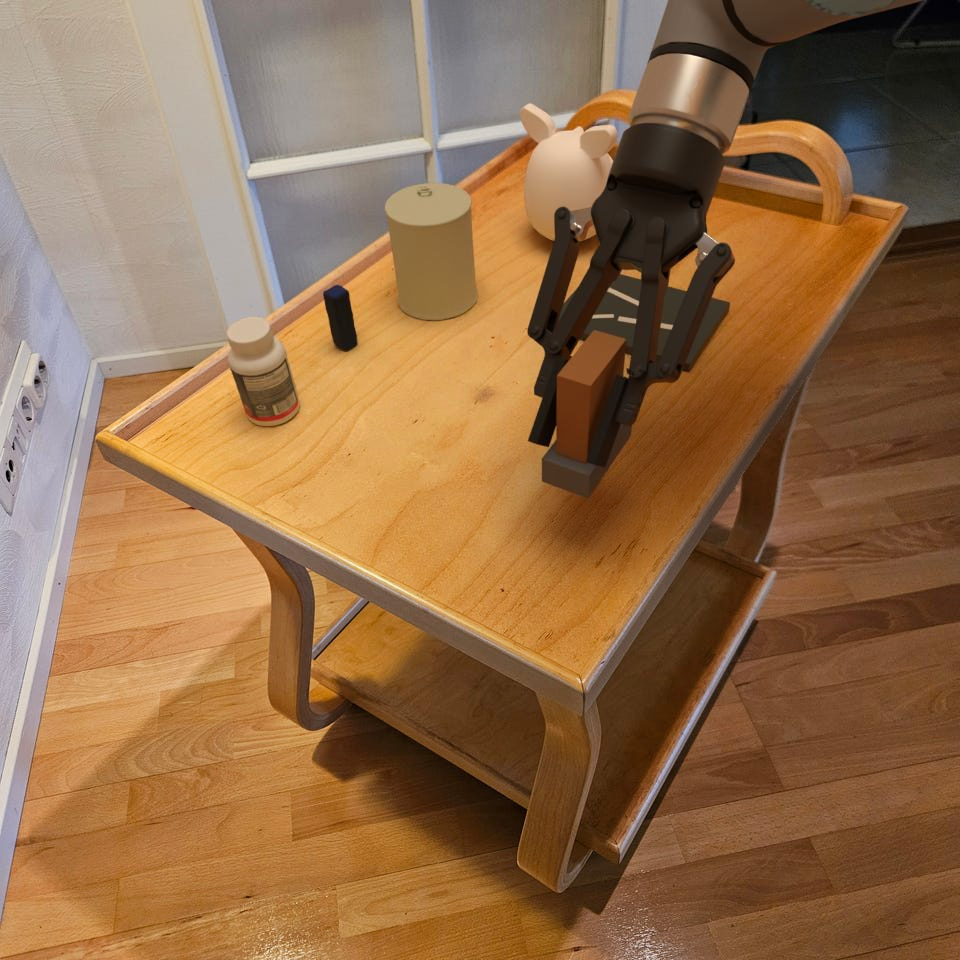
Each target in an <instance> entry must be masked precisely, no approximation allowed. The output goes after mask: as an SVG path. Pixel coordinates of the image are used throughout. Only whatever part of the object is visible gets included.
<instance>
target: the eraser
mask: <svg viewBox="0 0 960 960" xmlns="http://www.w3.org/2000/svg"><path fill="white" fill-rule="evenodd" d="M322 295H323V301H324V307H325V311H326V314H327V318H328V324H329V329H330V334H331V338H332V341H333V344H334V346H335V347H336V348H337V349H339V350H341V351H343V352H349V351H351V350H352V349H353V348H355V347H357V346H358V334H357V330H356V327H355V319H354V313H353V310H352V302H351V295H350V291H349V290H348V289H347V288H345V287H343V285H340V284H335V285H332V286H331V287H330V288H327V289H326V290H324V291H323V292H322Z"/></svg>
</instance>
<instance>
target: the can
mask: <svg viewBox="0 0 960 960" xmlns="http://www.w3.org/2000/svg"><path fill="white" fill-rule="evenodd" d="M472 203H473V202H472V198H471V196H470V193H468V192H467V191H466V190H464V189H463V188H462V187H459V186H457V185H452V184H448V183H443V182H441V183H440V182H426V183H419V184H414V185H410V186H407V187H404V188H402V189H399V190H398V191H396V192H395V193H393V194H391V195H390V196H389V197H388V198H387V200H386V202H385V203H384V213H385V215H386V222H387V229H388V235H389V241H390V247H391V253H392V260H393V261H392V262H393V268H394V274H395V282H396V289H397V297H396V300H397V304H398V307H399V308H400V310H401V311H403V312H404V313H405V314H407V315H408V316H410V317H412V318H414V319H418V320H423V321H442V320H449V319H453V318H456V317H458V316H461V315H463V314H464V313H466V312H468V311H469V310H470V309H471V308H473V307H474V305H475V304H476V302H477V300H478V298H479V290H478V287H477V280H476V268H475V253H474V252H475V251H474V238H473V235H474V234H473V215H472Z"/></svg>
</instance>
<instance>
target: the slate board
mask: <svg viewBox="0 0 960 960" xmlns="http://www.w3.org/2000/svg"><path fill="white" fill-rule="evenodd" d="M641 285H642V281H641V278H638V277H633V276H630V275H625V274H622V273H620V274H619V276H618V278H617V279H616V280H615V281H614V282H612V284H611V285H610V287H609V289H608V291H607V292H606V294H605V296H604V298H603V299H602V301H601V303H600V305H599V306H598V308H597V310H596V312H595V313H594V315H593V317H592V319H591V320H590V322H589V324H588V326H587V327H586V329H585V331H584V333H583V334H582V336H581V338H580V340H581V341H583V342H585V340H586V339H587V338H588V337H589V335H590V334H591V333H592V332H593V331H594V330H596V331H600V332H603V333H607V334H610V335H614V336H617V337H621V338H624V339H626V350H625V354H628V355H631V353H632V346H633V340H634V333H635V326H636V319H637V312H638V305H639V299H640V292H641ZM576 290H577V288H576V289H574V291H573V292H572V293H571V294H570V296H569V297H567V298H566V299H565V300H564V304H563V307H562V310H561V314H560V317H559V320H560V318H561V317H562V315H563V313H564V311H565V310H566V308H567V306H568V304H569V302H570V301H571V299H572V297H573V295H574V294H575V292H576ZM686 292H687V290H684V289H680V288H676V287H673V286H669V285H668V289H667V291H666V293H665V300H664V307H663V313H662V320H661V327H660V334H659V341H658V347H657V354H656V361H655V362H659V360H660V357H661V355H662V352H663V350H664V347H665V345H666V342H667V340H668V337H669V335H670V332H671V330H672V327H673V325H674V322H675V320H676V317H677V315H678V312H679V310H680V307H681V305H682V302H683V299H684V297H685V294H686ZM730 306H731V302H730V301H727V300H723V299H719V298H715V297H712V298H711V300H710V303H709V305H708V308H707V310H706V313H705V315H704V318H703V320H702V323H701V325H700V327H699V330H698V332H697V335H696V337H695V340H694V342H693V345H692V347H691V350H690V352H689V355H688V357H687V360H686V362H685V365H684V367H683V370H682V371H686V372H690V371H691V369H692V367H693V366H694V364H695V363H696V362H697V360H698V359H699V356H700V355H701V354H702V352H703V350H704V349H705V347H707V344H709V341H710V340H711V338H712V336H713V335H714V334H715V332H716V331H717V329H718V327H719V326H720V325H721V323H722V321H723V320H724V318H725V317H726V316H727V313H728V312H729V310H730ZM559 320H558V322H559ZM557 324H558V323H557Z"/></svg>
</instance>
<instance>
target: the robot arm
mask: <svg viewBox="0 0 960 960" xmlns="http://www.w3.org/2000/svg"><path fill="white" fill-rule="evenodd" d="M922 1H924V0H667V2H666V6H665V9H664V12H663V15H662V18H661V20H660V23H659V27H658V30H657V32H656V37H655V39H654V42H653V44H652V48H651V51H650V54H649V57H648V60H647V63H646V66H645V69H644V71H643V73H642V74H643V75H642V77H641V80H640V83H639V85H638V88H637V91H636V94H635V97H634V99H633V102H632V105H631V107H630V110H629V113H628V115H627V122H628V125H629V127H628V128H626V129H624V131H623V132H622V135H621V137H620V140H619V143H618V146H617V148H616V152H615V155H614V157H613V159H612V160H613V163H612V166H611V169H610V172H609V175H608V179H607V183H606V186H605V189H604V191H603V192H602V194H601V195H600V196H599V197H598V198H597V199H596V200H595V201H594V203H593V205H592V207H590V208H584V209H579V210H574V211H570V210H569V209H568V208H566V207H560V208H558V209H557V210H556V211H555V214H554V226H555V240H554V241H553V244H552V246H551V250H550V252H549V257H548V260H547V262H546V263H547V264H546V267H545V270H544V273H543V277H542V279H541V284H540V286H539V290H538V292H537V296H536V300H535V303H534V307H533V310H532V313H531V316H530V319H529V323H528V326H527V331H526V332H527V336H528V337H529V338H530V339H532V340H533V341H534V342H536V343H537V344H538V345H539V346H540V347H542V349H543V351H544V357H543V359H542V362H541V366H540V369H539V372H538V375H537V377H536V381H535V383H534V385H533V395H534V396H536V397H538V398H541V401H540V404H539V407H538V410H537V412H536V415H535V418H534V421H533V424H532V427H531V430H530V433H529V436H528V439H527V442H529V443H531V444H535V445H537V446H542V447H545V448H550V445H551V442H552V439H553V436H554V433H555V432H556V417H557V375H558V373H559V372H560V371H561V370H562V369H563V367H564V366H565V365H566V364H567V362H568V361H569V360H570V359H571V357H572V356H573V355H572V353H573V352H574V350H575V348H576V347H577V345H578V344H579V342H580V340H581V339H580V338H581V336H582V334H583V333H584V331H585V329H586V327H587V326H588V324H589V322H590V320H591V319H592V317H593V315H594V313H595V312H596V310H597V308H598V306H599V305H600V303H601V301H602V299H603V298H604V296H605V294H606V292H607V291H608V289H609V287H610V285H611V284H612V282H614V281H615V280H616V279H617V278H618V276H619V274H622V271H637V272H639V273H641V274H640V279H641V281H642V285H641V292H640V299H639V305H638V312H637V319H636V326H635V333H634V340H633V346H632V353H631V354H630V361H629V367H626V368H625V369H626V374H627V375H628V377H626V376H624V375H623V376H620V375H617V374H616V377H615V380H614V383H613V385H612V388H611V391H610V394H609V397H608V400H607V402H606V405H605V408H604V411H603V414H602V417H601V420H600V422H599V425H598V428H597V431H596V434H595V437H594V439H593V442H592V445H591V448H590V451H589V454H588V456H587V459H586V462H588V463H591V464H594V465H597V466H601V467H606V464H607V461H608V459H609V456H610V453H611V450H612V447H613V444H614V442H615V439H616V436H617V433H618V430H619V427H620V425H621V424H623V425H626V426H629V427H631V426H632V427H633V425H634V424H635V423H636V422H637V420H638V416H639V413H640V410H641V408H642V405H643V402H644V399H645V397H646V393H647V391H648V389H649V388H650V387H651V385H654V384H658V383H659V384H660V383H668V384H674V383H676V382H677V381H678V380H679V379H680V378H681V375H682V372H683V371H684V370H683V367H684V365H685V362H686V360H687V357H688V355H689V352H690V350H691V347H692V345H693V342H694V340H695V337H696V335H697V332H698V330H699V327H700V325H701V323H702V320H703V318H704V315H705V313H706V310H707V308H708V305H709V303H710V300H711V298H713V295H714V293H715V290H716V288H717V286H718V284H719V283H720V282H721V281H722V280H723V278H724V277H726V275H727V274H728V273H729V272H730V271H731V269H732V268H733V267H734V265H735V264H736V258H735V255H734V253H733V250H732V248H731V246H730V244H729V243H727V242H719V241H717V239H715V238H713V237H712V236H710V235H709V234H708V226H707V215H708V212H709V210H710V207H711V204H712V201H713V198H714V195H715V192H716V189H717V187H718V184H719V182H720V178H721V176H722V173H723V170H724V167H725V164H726V161H725V158H724V154H726V153H727V152H729V151H730V148H731V147H732V144H733V141H734V139H735V136H736V133H737V130H738V127H739V124H740V122H741V119H742V116H743V113H744V112H745V111H744V110H745V108H746V104H747V103H748V99H749V97H750V94H751V91H752V88H753V85H754V82H755V79H756V77H757V74H758V72H759V69H760V66H761V64H762V62H763V59H764V56H765V53H766V52H767V50H768V49H771V48H773V47H777V46H781V45H783V44H787V43H789V42H791V41H793V40H796V39H798V38H800V37H804V36H806V35H808V34H812V33H815V32H817V31H819V30H823V29H826V28H827V27H831V26H834V25H836V24H839V23H842V22H847V21H849V20H853V19H857V18H861V17H865V16H870V15H873V14H877V13H881V12H885V11H888V10H893V9H896V8H900V7H904V6H907V5H911V4H914V3H920V2H922ZM592 225H594V227H595V231H596V237H597V241H598V245H597V247H596V248H595V251H594V253H593V254H592V256H591V258H590V261H589V267H588V268H587V270H586V272H585V274H584V276H583V278H582V279H581V281H580V283H579V285H578V287H577V288H576V289H577V290H576V289H575V290H576V292H575V294H574V295H573V297H572V299H571V301H570V302H569V304H568V306H567V308H566V310H565V311H564V313H563V315H562V317H561V318H560V320H559V317H560V314H561V310H562V307H563V304H564V302H565V301H566V297H567V294H568V291H569V287H570V285H571V280H572V277H573V274H574V271H575V268H576V264H577V261H578V257H579V254H580V248H581V247H580V246H581V242H583V241H585V240H584V239H585V238H586V236H587V232H588V229H589V228H590V227H591V226H592ZM582 240H583V241H582ZM696 250H697V255H696V256H695V260H694V263H695V265H696V266H697V267H696V270H695V271H694V273H693V275H692V278H691V279H690V282H689V284H688V287H687V290H686V291H687V292H686V294H685V297H684V299H683V302H682V305H681V307H680V310H679V312H678V315H677V317H676V320H675V322H674V325H673V327H672V330H671V332H670V335H669V337H668V340H667V342H666V345H665V347H664V350H663V352H662V355H661V357H660V360H659V362H655V361H656V354H657V347H658V341H659V334H660V327H661V320H662V313H663V307H664V300H665V293H666V291H667V289H668V286H669V283H670V277H671V269H673V267H675V266H676V265H678V264H679V263H680V262H681V261H683V260H684V259H685V258H686V257H687V256H689V255H690V254H691V253H693V252H694V251H696ZM558 320H559V322H558ZM557 323H558V324H557Z"/></svg>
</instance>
